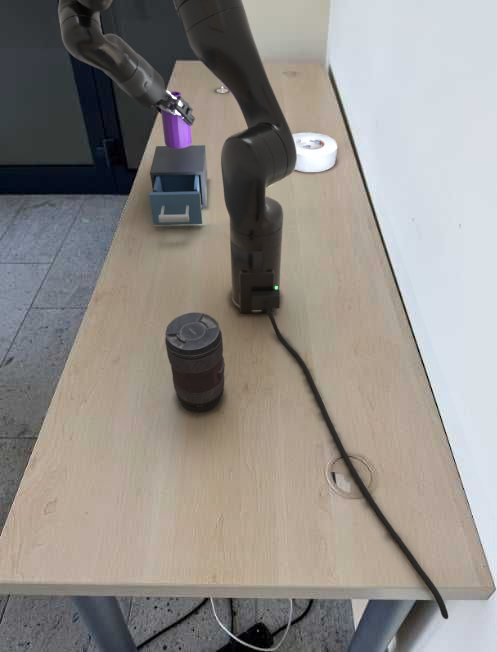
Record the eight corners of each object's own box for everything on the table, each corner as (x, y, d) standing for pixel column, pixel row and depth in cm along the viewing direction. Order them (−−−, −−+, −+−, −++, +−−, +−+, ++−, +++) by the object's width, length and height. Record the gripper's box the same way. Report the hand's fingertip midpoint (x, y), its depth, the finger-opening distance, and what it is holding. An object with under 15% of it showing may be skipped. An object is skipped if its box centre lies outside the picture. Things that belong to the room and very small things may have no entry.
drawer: (201, 238, 109) (198, 207, 104) (150, 239, 109) (145, 208, 104) (204, 195, 123) (202, 166, 118) (159, 196, 123) (154, 167, 118)
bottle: (191, 148, 117) (187, 98, 109) (163, 148, 117) (158, 98, 109) (192, 137, 122) (188, 88, 114) (166, 137, 122) (160, 89, 114)
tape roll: (339, 152, 143) (342, 135, 139) (329, 176, 132) (332, 158, 129) (289, 146, 146) (290, 129, 143) (275, 168, 136) (276, 150, 132)
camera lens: (202, 369, 82) (195, 302, 72) (235, 395, 78) (233, 329, 68) (164, 396, 78) (151, 330, 68) (198, 425, 74) (190, 360, 64)
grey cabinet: (206, 207, 121) (203, 171, 114) (155, 208, 120) (149, 172, 114) (207, 179, 131) (205, 145, 124) (160, 180, 131) (156, 145, 124)
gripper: (170, 68, 98) (210, 110, 113) (121, 55, 104) (165, 97, 119) (155, 103, 99) (197, 140, 114) (107, 88, 105) (152, 126, 120)
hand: (180, 118), depth 116 cm, fingers closed on bottle, 6 cm apart
